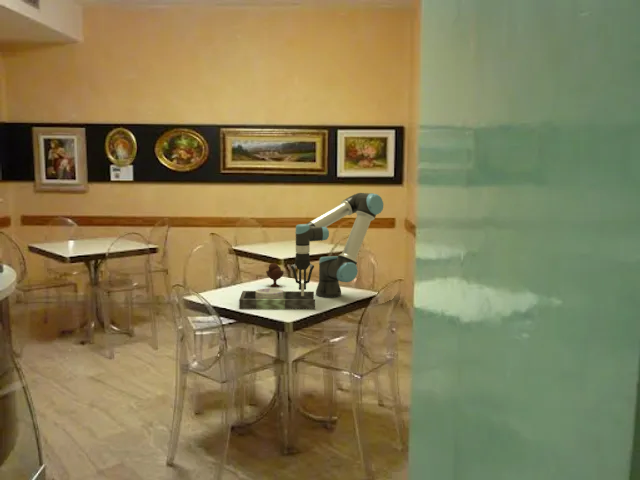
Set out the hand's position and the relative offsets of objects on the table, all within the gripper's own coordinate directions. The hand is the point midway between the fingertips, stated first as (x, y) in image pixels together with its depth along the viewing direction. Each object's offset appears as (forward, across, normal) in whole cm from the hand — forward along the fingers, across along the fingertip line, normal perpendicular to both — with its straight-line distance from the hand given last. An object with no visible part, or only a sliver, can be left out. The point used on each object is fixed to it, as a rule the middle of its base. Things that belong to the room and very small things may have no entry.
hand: (302, 295), depth 314 cm
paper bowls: (+5, -18, -1) cm, 19 cm away
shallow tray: (+5, -14, 0) cm, 14 cm away
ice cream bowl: (+6, -17, +50) cm, 53 cm away
